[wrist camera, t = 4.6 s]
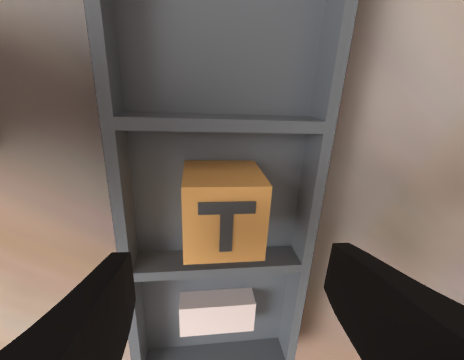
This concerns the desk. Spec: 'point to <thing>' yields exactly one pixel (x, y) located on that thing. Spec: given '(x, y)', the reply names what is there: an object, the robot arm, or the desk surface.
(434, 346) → the robot arm
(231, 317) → the eraser
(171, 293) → the organizer
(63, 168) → the desk surface
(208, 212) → the letter cube
